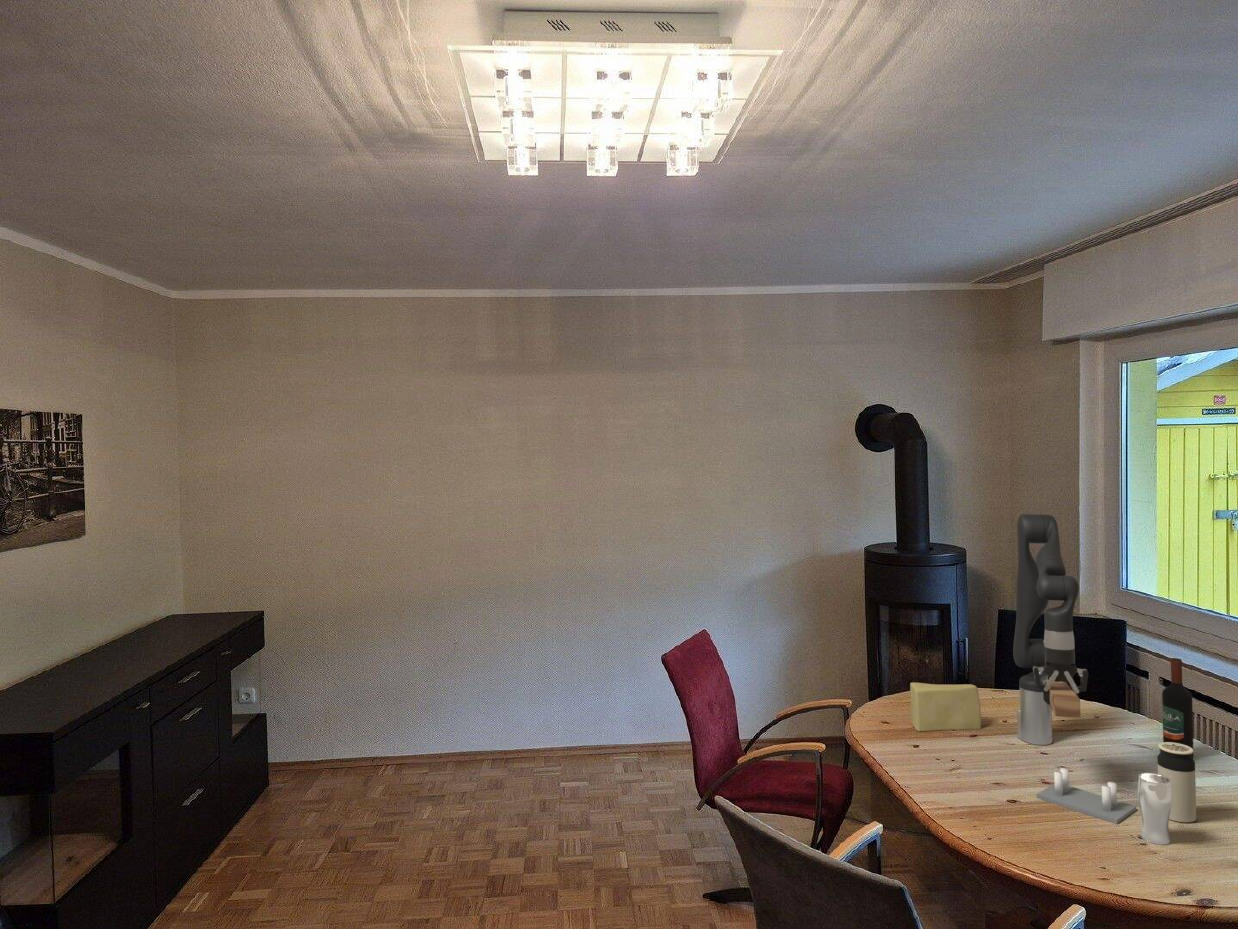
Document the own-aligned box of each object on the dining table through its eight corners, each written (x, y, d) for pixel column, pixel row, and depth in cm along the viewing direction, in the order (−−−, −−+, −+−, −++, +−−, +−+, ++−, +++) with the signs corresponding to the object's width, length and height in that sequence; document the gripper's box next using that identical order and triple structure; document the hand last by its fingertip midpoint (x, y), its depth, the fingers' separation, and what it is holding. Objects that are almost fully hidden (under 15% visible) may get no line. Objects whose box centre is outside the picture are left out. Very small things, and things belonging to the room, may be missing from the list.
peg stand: (1036, 797, 215) (1035, 772, 215) (1057, 785, 222) (1056, 761, 222) (1116, 824, 199) (1116, 797, 199) (1136, 810, 206) (1135, 783, 206)
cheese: (976, 723, 273) (975, 681, 273) (985, 734, 264) (983, 689, 263) (910, 722, 277) (909, 680, 276) (916, 732, 267) (915, 689, 267)
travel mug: (1197, 826, 197) (1196, 755, 196) (1159, 819, 201) (1157, 750, 201) (1194, 813, 203) (1193, 744, 203) (1157, 807, 208) (1156, 739, 207)
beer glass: (1131, 833, 194) (1130, 773, 194) (1158, 831, 195) (1156, 771, 195) (1153, 847, 188) (1151, 785, 187) (1180, 844, 188) (1178, 783, 188)
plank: (1080, 717, 213) (1080, 699, 213) (1055, 716, 215) (1055, 698, 215) (1066, 698, 230) (1065, 681, 230) (1043, 697, 232) (1042, 680, 232)
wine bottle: (1198, 762, 235) (1196, 663, 235) (1170, 760, 237) (1168, 662, 236) (1186, 752, 242) (1183, 656, 242) (1158, 751, 244) (1156, 655, 244)
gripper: (1032, 647, 221) (1034, 706, 221) (1091, 650, 216) (1093, 710, 216) (1029, 641, 228) (1031, 699, 228) (1085, 644, 223) (1087, 702, 223)
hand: (1061, 704), depth 222 cm, fingers closed on plank, 6 cm apart
